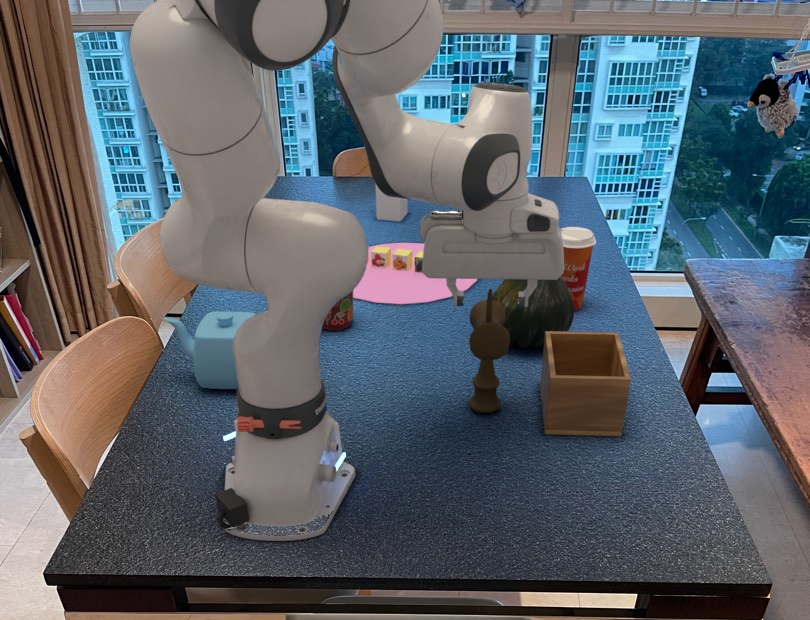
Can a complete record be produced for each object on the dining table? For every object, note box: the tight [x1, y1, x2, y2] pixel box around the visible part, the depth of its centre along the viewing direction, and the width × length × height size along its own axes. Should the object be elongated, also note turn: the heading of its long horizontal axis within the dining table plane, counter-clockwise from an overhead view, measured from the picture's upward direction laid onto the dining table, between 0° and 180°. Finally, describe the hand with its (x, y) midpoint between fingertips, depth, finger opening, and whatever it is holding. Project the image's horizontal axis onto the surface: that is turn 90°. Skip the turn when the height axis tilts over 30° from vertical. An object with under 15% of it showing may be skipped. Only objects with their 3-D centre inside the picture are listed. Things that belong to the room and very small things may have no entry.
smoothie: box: [322, 291, 354, 331], centre depth 159 cm, size 8×8×20 cm
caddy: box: [539, 331, 632, 437], centre depth 137 cm, size 15×12×10 cm
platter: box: [353, 242, 479, 306], centre depth 182 cm, size 32×32×3 cm
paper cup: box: [560, 226, 597, 312], centre depth 165 cm, size 8×8×14 cm
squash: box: [493, 277, 575, 349], centre depth 155 cm, size 14×15×15 cm
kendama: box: [468, 288, 510, 414], centre depth 135 cm, size 6×10×20 cm, turn 178°
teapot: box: [162, 311, 257, 390], centre depth 146 cm, size 12×18×12 cm
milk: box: [374, 182, 409, 223], centre depth 202 cm, size 6×6×22 cm
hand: (490, 305), depth 130 cm, fingers open, 8 cm apart
